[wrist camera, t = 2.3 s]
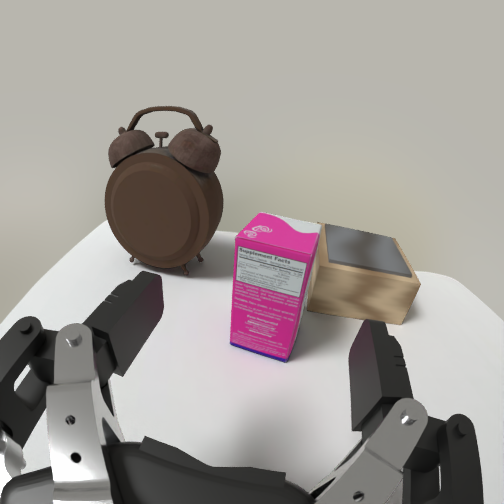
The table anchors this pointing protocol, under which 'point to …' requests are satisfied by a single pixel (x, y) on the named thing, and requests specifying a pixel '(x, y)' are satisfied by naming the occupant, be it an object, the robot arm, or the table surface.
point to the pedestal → (361, 276)
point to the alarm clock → (164, 192)
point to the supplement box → (271, 283)
